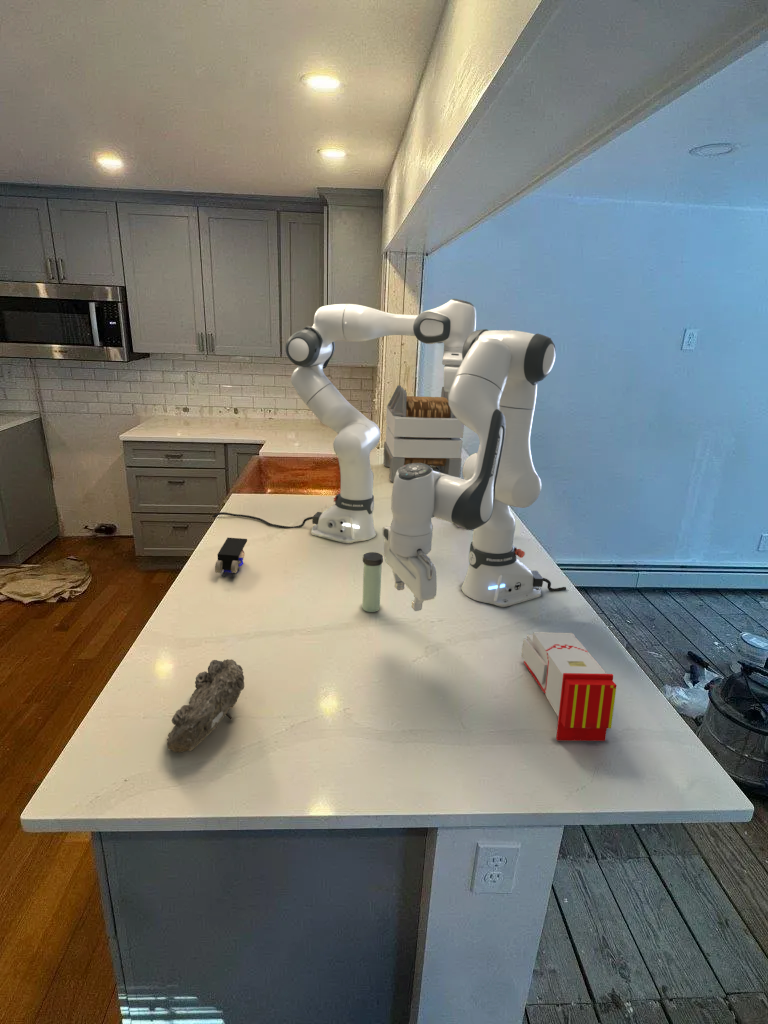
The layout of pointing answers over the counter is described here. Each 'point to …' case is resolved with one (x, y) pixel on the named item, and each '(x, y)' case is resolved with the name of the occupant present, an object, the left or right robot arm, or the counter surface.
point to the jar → (371, 588)
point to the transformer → (422, 433)
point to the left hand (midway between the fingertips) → (454, 403)
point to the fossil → (206, 705)
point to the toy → (571, 685)
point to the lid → (372, 558)
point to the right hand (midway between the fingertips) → (407, 598)
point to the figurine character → (230, 556)
